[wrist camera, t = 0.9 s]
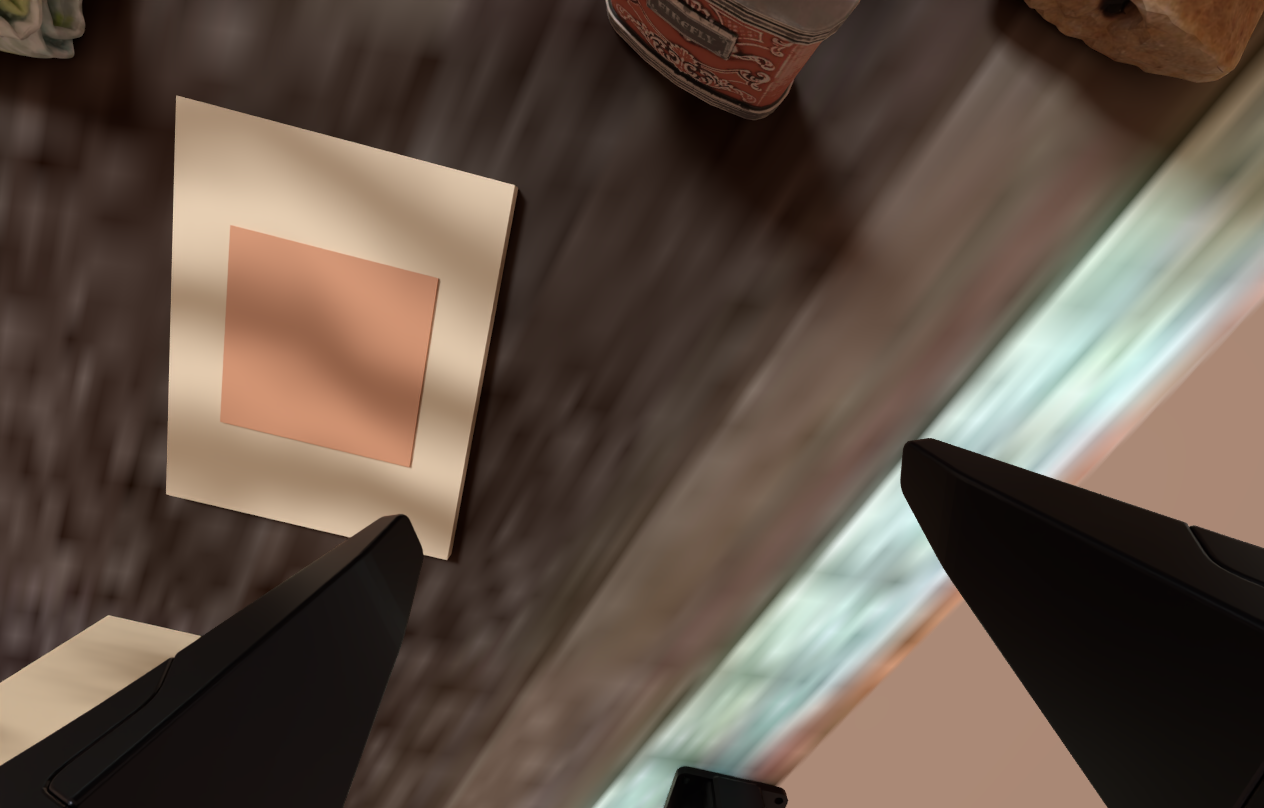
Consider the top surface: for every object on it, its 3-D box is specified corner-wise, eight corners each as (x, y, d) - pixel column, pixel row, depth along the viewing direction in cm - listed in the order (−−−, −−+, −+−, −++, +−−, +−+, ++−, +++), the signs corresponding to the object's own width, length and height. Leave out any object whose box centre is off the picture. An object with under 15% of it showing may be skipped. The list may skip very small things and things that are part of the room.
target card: (451, 553, 26) (446, 561, 25) (177, 489, 25) (164, 495, 24) (518, 187, 21) (514, 184, 21) (189, 100, 21) (173, 94, 20)
